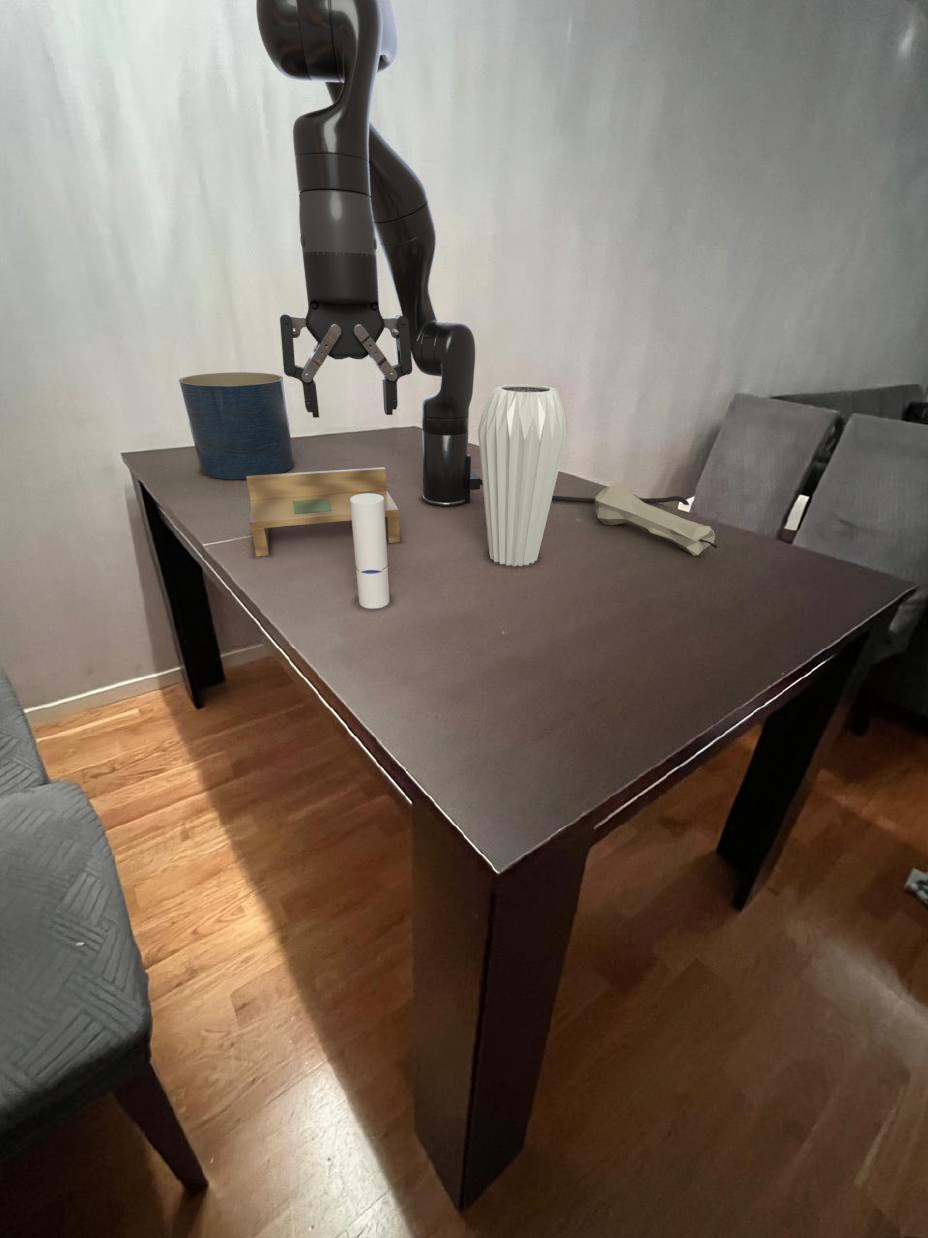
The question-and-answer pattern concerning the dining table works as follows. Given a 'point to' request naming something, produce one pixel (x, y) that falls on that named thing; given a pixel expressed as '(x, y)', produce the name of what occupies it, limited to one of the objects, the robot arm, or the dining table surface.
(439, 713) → the dining table surface
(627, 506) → the faceted club
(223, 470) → the planter
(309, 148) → the robot arm
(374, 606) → the tube
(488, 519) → the vase
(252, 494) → the shelf
